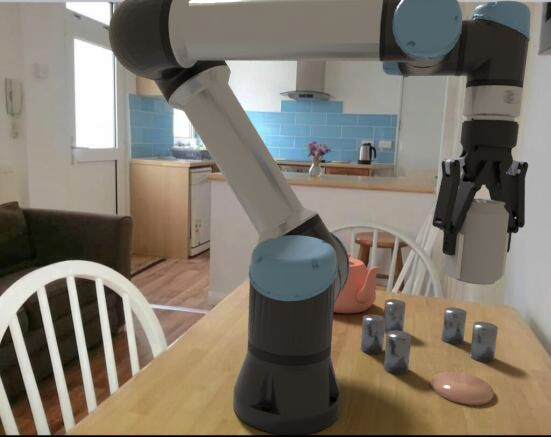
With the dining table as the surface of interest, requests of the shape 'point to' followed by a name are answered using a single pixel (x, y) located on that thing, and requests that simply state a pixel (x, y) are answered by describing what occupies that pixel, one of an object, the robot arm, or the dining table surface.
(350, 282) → the teapot
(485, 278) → the can
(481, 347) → the chrome peg cluster
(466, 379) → the pink flat disc
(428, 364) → the dining table surface
